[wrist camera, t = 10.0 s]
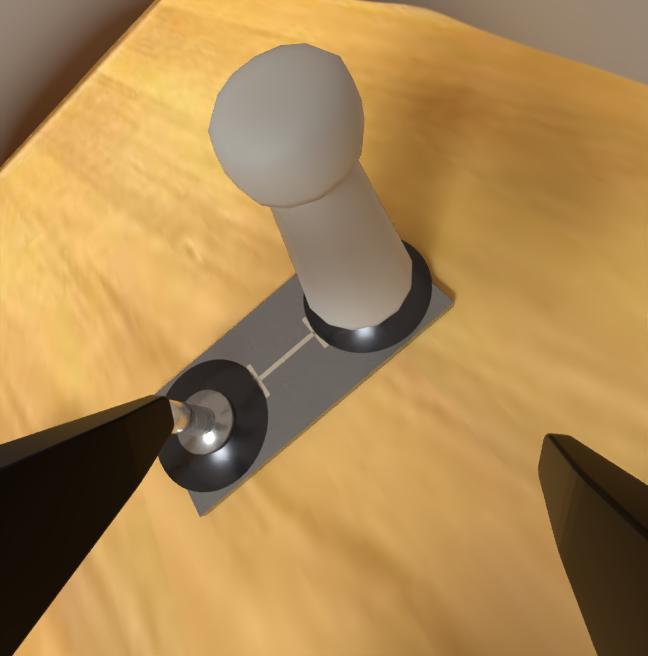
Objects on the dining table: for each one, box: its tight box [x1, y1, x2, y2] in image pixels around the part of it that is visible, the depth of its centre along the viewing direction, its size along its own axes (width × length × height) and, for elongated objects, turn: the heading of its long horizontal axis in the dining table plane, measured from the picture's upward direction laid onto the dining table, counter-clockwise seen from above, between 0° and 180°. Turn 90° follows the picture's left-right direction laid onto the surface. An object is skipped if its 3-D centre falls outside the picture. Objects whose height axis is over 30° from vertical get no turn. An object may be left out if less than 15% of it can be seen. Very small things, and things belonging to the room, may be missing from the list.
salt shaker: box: [208, 43, 412, 330], centre depth 15 cm, size 6×6×13 cm
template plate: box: [155, 240, 454, 517], centre depth 21 cm, size 20×8×1 cm, turn 128°
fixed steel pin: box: [169, 390, 236, 454], centre depth 19 cm, size 4×4×5 cm
